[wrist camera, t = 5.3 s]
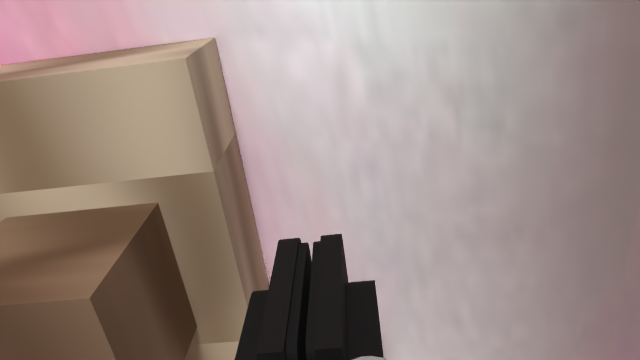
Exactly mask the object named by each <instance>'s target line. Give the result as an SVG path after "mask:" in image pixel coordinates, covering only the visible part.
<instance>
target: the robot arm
mask: <svg viewBox="0 0 640 360" xmlns="http://www.w3.org/2000/svg"><path fill="white" fill-rule="evenodd" d="M235 360H386V359H384V357H383V349H382V340H381V331H380V322H379V314H378V305H377V296H376V287H375V280H373V281H362V282H350V283H348V276H347V269H346V262H345V254H344V247H343V240H342V234H334V235H324V236H321V241H318V242H314V243H313V255H312V261H311V255H310V249H309V244H308V243H301V240H300V238H294V239H284V240H279V242H278V246H277V251H276V256H275V261H274V266H273V271H272V276H271V281H270V286H269V290H260V291H253V292H252V294H251V297H250V300H249V304H248V308H247V312H246V316H245V320H244V324H243V328H242V332H241V336H240V340H239V344H238V348H237V352H236V356H235Z"/></svg>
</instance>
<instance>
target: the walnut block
mask: <svg viewBox="0 0 640 360" xmlns="http://www.w3.org/2000/svg"><path fill="white" fill-rule="evenodd" d="M196 328H197V324H196V321H195V318H194V315H193V311H192V308H191V305H190V302H189V299H188V296H187V292H186V289H185V286H184V283H183V280H182V277H181V273H180V270H179V267H178V264H177V261H176V258H175V254H174V251H173V248H172V245H171V242H170V239H169V235H168V232H167V229H166V226H165V223H164V219H163V216H162V213H161V210H160V207H159V204H158V202H157V203H147V204H137V205H127V206H117V207H107V208H97V209H87V210H77V211H68V212H58V213H48V214H38V215H28V216H18V217H8V218H5V219H4V220H2V221H1V222H0V360H185V358H186V355H187V352H188V350H189V347H190V344H191V342H192V339H193V336H194V334H195V331H196Z"/></svg>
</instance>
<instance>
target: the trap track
mask: <svg viewBox="0 0 640 360" xmlns="http://www.w3.org/2000/svg"><path fill="white" fill-rule="evenodd" d="M157 202H158V204H159V207H160V210H161V213H162V216H163V219H164V223H165V226H166V229H167V232H168V235H169V239H170V242H171V245H172V248H173V251H174V254H175V258H176V261H177V264H178V267H179V270H180V273H181V277H182V280H183V283H184V286H185V289H186V292H187V296H188V299H189V302H190V305H191V308H192V311H193V315H194V318H195V321H196V324H197V328H196V331H195V334H194V336H193V339H192V342H191V344H190V347H189V350H188V352H187V355H186V358H185V360H235V356H236V352H237V348H238V344H239V340H240V336H241V332H242V328H243V324H244V320H245V316H246V312H247V308H248V304H249V300H250V297H251V294H252V292H253V291H260V290H269V283H268V279H267V274H266V270H265V265H264V260H263V256H262V251H261V247H260V242H259V238H258V233H257V228H256V224H255V219H254V215H253V210H252V206H251V201H250V196H249V192H248V187H247V183H246V178H245V174H244V169H243V164H242V160H241V155H240V151H239V146H238V142H237V137H236V132H235V128H234V123H233V119H232V114H231V110H230V105H229V100H228V96H227V91H226V87H225V82H224V78H223V73H222V68H221V64H220V59H219V55H218V50H217V46H216V41H215V38H208V39H200V40H193V41H185V42H177V43H170V44H162V45H154V46H147V47H139V48H131V49H124V50H116V51H108V52H101V53H93V54H85V55H78V56H70V57H62V58H55V59H47V60H39V61H32V62H24V63H16V64H9V65H1V66H0V222H1V221H2V220H4V219H5V218H8V217H18V216H28V215H38V214H48V213H58V212H68V211H77V210H87V209H97V208H107V207H117V206H127V205H137V204H147V203H157Z"/></svg>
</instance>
